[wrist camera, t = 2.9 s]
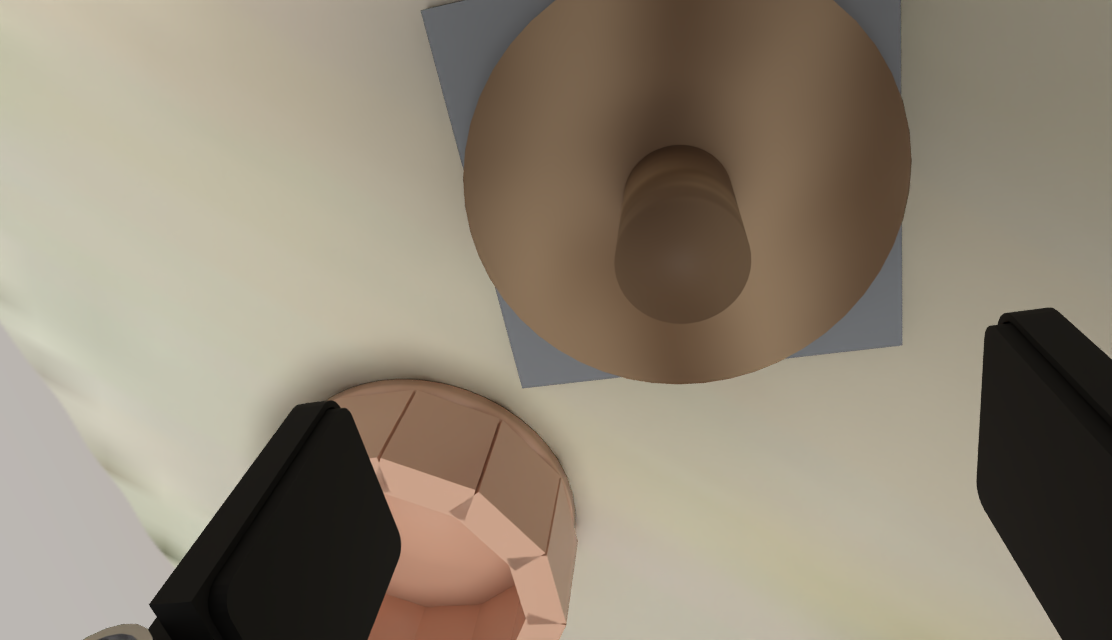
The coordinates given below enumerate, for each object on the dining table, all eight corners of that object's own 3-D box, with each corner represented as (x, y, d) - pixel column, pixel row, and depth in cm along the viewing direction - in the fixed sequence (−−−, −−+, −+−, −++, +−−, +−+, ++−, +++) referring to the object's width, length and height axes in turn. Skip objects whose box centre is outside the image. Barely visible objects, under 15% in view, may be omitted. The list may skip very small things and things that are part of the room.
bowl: (539, 361, 27) (515, 444, 22) (600, 603, 32) (590, 708, 28) (240, 397, 29) (166, 477, 25) (342, 616, 35) (296, 714, 30)
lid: (900, -100, 18) (996, -116, 13) (901, 345, 24) (969, 458, 19) (421, 10, 21) (341, 33, 16) (522, 387, 27) (488, 498, 21)
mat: (893, -99, 19) (899, -101, 18) (897, 336, 25) (902, 345, 24) (426, 9, 22) (420, 10, 21) (525, 379, 27) (522, 388, 27)
